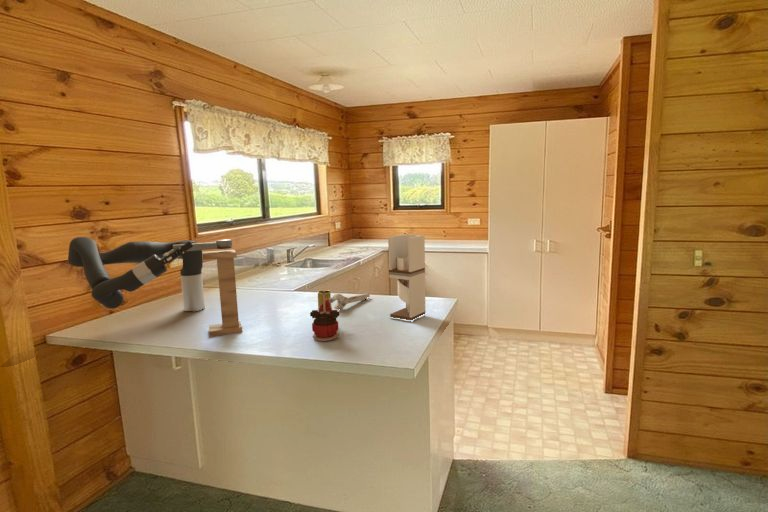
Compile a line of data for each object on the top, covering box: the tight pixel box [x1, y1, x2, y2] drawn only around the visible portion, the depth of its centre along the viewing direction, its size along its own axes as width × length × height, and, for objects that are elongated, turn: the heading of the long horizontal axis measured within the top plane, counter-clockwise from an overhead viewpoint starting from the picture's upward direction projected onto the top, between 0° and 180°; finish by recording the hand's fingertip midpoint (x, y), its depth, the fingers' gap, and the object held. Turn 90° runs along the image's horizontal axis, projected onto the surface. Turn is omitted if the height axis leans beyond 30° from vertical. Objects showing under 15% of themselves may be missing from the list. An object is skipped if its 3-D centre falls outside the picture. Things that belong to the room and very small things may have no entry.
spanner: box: [173, 239, 233, 251], centre depth 166 cm, size 6×21×3 cm, turn 113°
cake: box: [309, 291, 340, 342], centre depth 161 cm, size 11×9×18 cm
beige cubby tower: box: [387, 233, 426, 320], centre depth 183 cm, size 11×11×35 cm
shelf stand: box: [202, 249, 243, 337], centre depth 171 cm, size 9×12×32 cm
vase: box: [317, 289, 333, 311], centre depth 176 cm, size 6×6×14 cm
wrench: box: [332, 293, 371, 311], centre depth 208 cm, size 8×2×30 cm
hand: (191, 243), depth 165 cm, fingers closed on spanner, 3 cm apart
